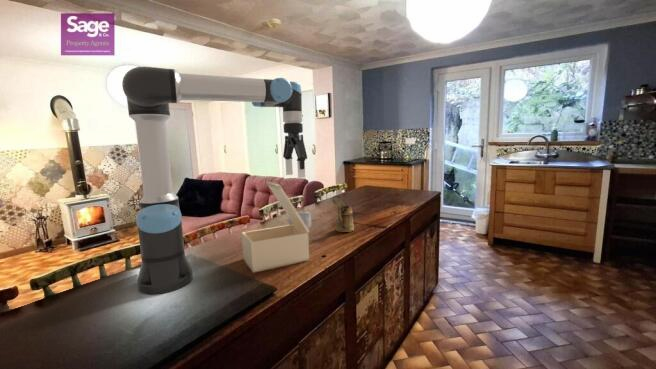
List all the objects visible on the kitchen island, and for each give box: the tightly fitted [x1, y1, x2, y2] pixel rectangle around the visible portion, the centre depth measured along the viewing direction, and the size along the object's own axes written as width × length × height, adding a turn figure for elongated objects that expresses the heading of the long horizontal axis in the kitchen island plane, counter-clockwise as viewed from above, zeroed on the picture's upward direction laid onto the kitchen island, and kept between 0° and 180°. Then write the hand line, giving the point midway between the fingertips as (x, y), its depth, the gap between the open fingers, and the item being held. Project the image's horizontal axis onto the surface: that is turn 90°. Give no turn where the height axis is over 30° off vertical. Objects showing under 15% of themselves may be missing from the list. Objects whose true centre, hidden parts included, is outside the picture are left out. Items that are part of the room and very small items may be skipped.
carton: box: [241, 224, 310, 274], centre depth 110 cm, size 20×14×10 cm
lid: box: [265, 180, 310, 234], centre depth 111 cm, size 20×14×1 cm
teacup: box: [287, 211, 312, 230], centre depth 147 cm, size 14×11×8 cm
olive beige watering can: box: [331, 195, 355, 233], centre depth 142 cm, size 9×14×18 cm, turn 150°
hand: (295, 176), depth 125 cm, fingers open, 13 cm apart
